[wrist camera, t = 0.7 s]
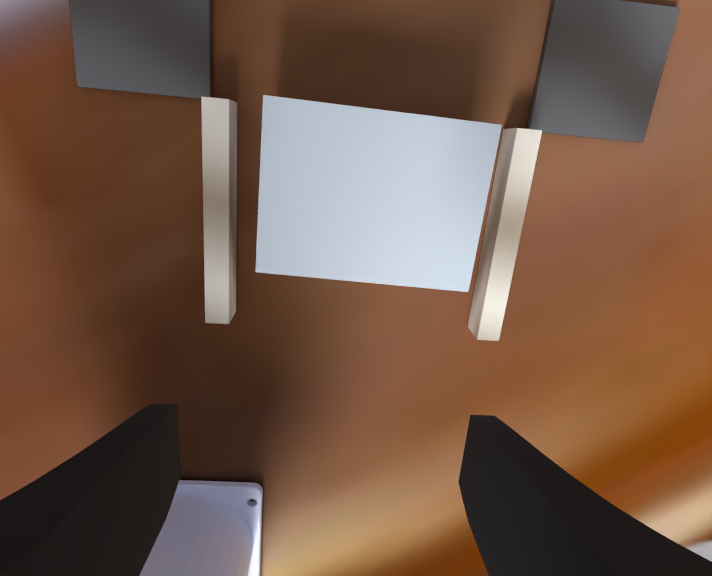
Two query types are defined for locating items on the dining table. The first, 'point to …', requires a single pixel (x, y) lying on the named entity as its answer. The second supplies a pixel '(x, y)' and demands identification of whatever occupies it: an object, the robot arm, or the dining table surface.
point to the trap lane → (518, 146)
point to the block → (371, 194)
